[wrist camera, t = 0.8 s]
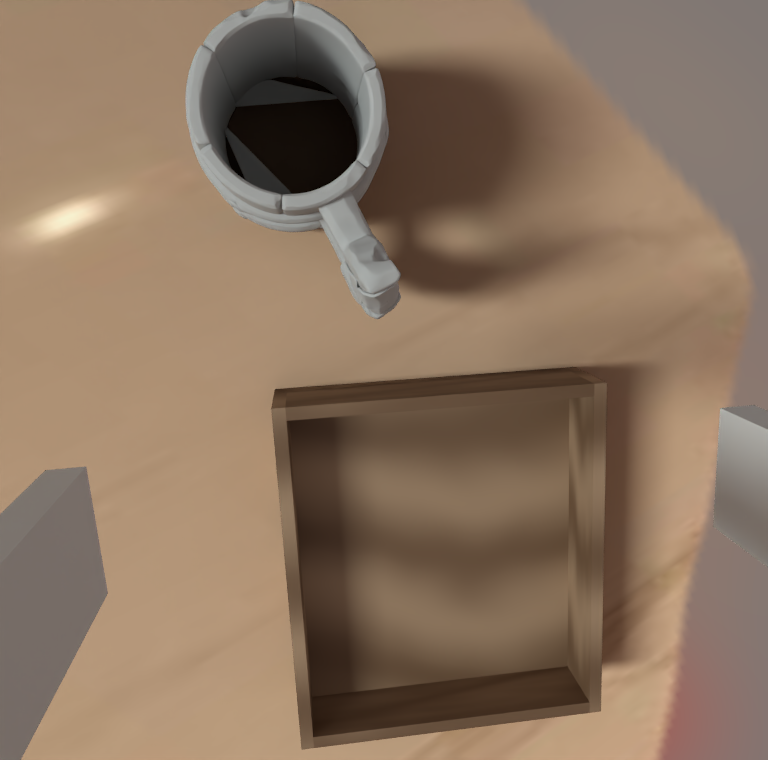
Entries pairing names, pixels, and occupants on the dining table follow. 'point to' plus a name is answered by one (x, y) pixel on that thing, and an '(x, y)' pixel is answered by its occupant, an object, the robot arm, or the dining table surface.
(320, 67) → the mug
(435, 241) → the dining table surface
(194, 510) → the dining table surface
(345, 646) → the wooden tray
